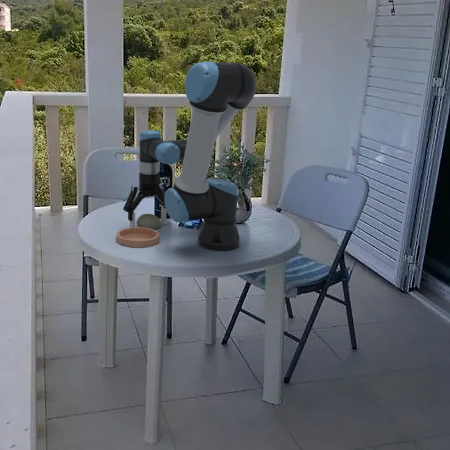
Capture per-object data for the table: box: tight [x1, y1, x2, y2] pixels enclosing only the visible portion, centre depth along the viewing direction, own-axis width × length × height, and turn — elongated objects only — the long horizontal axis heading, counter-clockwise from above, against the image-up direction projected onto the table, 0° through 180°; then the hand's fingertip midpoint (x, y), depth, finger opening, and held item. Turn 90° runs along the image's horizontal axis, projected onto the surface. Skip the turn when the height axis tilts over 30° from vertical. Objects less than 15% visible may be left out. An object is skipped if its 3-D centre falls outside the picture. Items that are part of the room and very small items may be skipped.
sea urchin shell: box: [135, 213, 162, 230], centre depth 219 cm, size 9×8×8 cm
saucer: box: [115, 226, 160, 249], centre depth 204 cm, size 15×15×2 cm
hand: (148, 226), depth 220 cm, fingers open, 13 cm apart
